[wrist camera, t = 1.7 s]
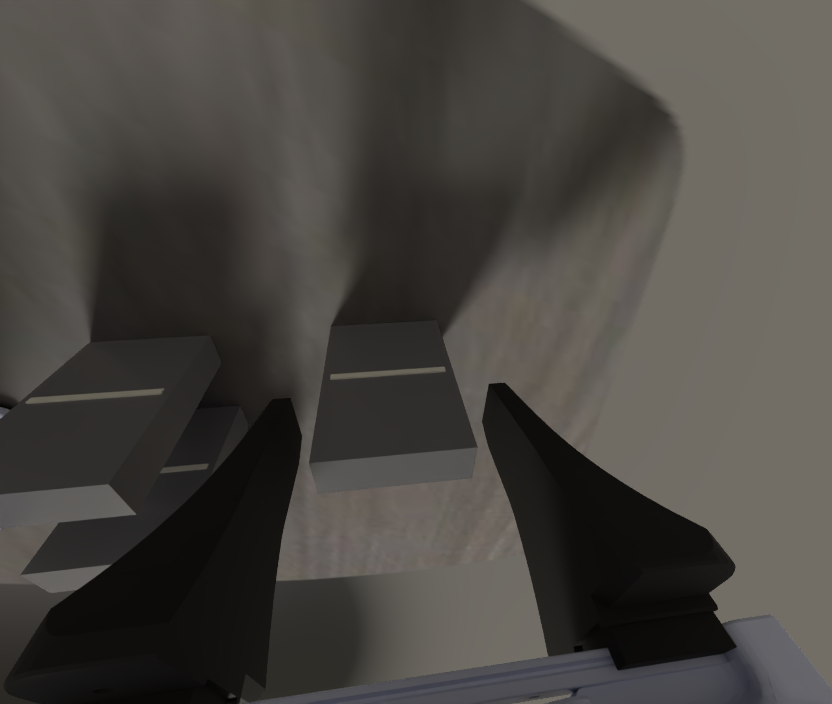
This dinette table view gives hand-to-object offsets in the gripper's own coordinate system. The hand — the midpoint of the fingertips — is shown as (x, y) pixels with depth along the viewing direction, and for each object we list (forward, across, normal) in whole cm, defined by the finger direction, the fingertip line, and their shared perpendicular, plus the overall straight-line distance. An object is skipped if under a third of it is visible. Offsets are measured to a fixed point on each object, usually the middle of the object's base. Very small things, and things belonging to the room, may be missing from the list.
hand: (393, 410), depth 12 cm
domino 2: (+5, +10, +5) cm, 13 cm away
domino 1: (+5, +10, 0) cm, 12 cm away
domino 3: (+5, 0, 0) cm, 5 cm away
